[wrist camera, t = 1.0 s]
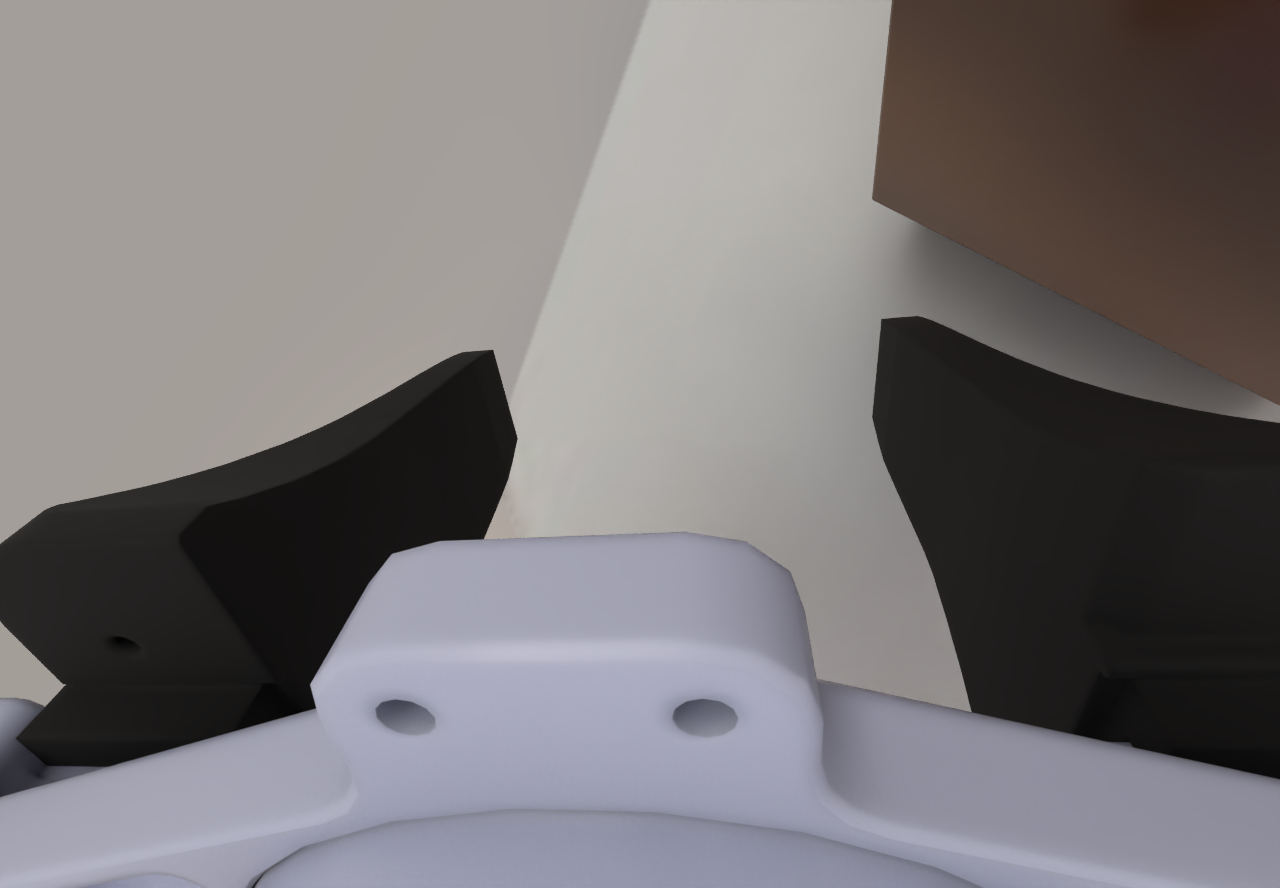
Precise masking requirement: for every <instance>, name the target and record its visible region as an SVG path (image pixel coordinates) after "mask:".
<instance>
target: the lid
mask: <svg viewBox="0 0 1280 888" xmlns="http://www.w3.org/2000/svg"><path fill="white" fill-rule="evenodd" d="M872 199H873V200H874V201H876V202H878V203H880V204H882V205H884V206H886V207H888V208H890V209H892V210H894V211H896V212H898V213H900V214H902V215H904V216H906V217H907V218H909V219H911V220H913V221H915V222H917V223H919V224H921V225H923V226H925V227H927V228H929V229H931V230H933V231H935V232H937V233H939V234H941V235H943V236H945V237H947V238H949V239H951V240H953V241H955V242H957V243H959V244H961V245H963V246H965V247H967V248H969V249H971V250H973V251H975V252H977V253H979V254H981V255H983V256H985V257H987V258H989V259H991V260H993V261H995V262H997V263H999V264H1000V265H1002V266H1004V267H1006V268H1008V269H1010V270H1012V271H1014V272H1016V273H1018V274H1020V275H1022V276H1024V277H1026V278H1028V279H1030V280H1032V281H1034V282H1036V283H1038V284H1040V285H1042V286H1044V287H1046V288H1048V289H1050V290H1052V291H1054V292H1056V293H1058V294H1060V295H1062V296H1064V297H1066V298H1068V299H1070V300H1072V301H1074V302H1076V303H1078V304H1080V305H1082V306H1084V307H1086V308H1088V309H1090V310H1092V311H1093V312H1095V313H1097V314H1099V315H1101V316H1103V317H1105V318H1107V319H1109V320H1111V321H1113V322H1115V323H1117V324H1119V325H1121V326H1123V327H1125V328H1127V329H1129V330H1131V331H1133V332H1135V333H1137V334H1139V335H1141V336H1143V337H1145V338H1147V339H1149V340H1151V341H1153V342H1155V343H1157V344H1159V345H1161V346H1163V347H1165V348H1167V349H1169V350H1171V351H1173V352H1175V353H1177V354H1179V355H1181V356H1183V357H1184V358H1186V359H1188V360H1190V361H1192V362H1194V363H1196V364H1198V365H1200V366H1202V367H1204V368H1206V369H1208V370H1210V371H1212V372H1214V373H1216V374H1218V375H1220V376H1222V377H1224V378H1226V379H1228V380H1230V381H1232V382H1234V383H1236V384H1238V385H1240V386H1242V387H1244V388H1246V389H1248V390H1250V391H1252V392H1254V393H1256V394H1258V395H1260V396H1262V397H1264V398H1266V399H1268V400H1270V401H1272V402H1274V403H1276V404H1277V405H1279V406H1280V0H892V6H891V16H890V26H889V36H888V46H887V56H886V66H885V76H884V85H883V95H882V105H881V115H880V125H879V135H878V145H877V155H876V165H875V175H874V184H873V194H872Z"/></svg>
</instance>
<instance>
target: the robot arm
mask: <svg viewBox="0 0 1280 888" xmlns="http://www.w3.org/2000/svg"><path fill="white" fill-rule="evenodd" d="M872 418H873V422H874V426H875V430H876V434H877V438H878V442H879V446H880V449H881V453H882V456H883V460H884V462H885V465H886V467H887V469H888V472H889V474H890V476H891V478H892V481H893V483H894V485H895V488H896V490H897V492H898V494H899V497H900V499H901V501H902V503H903V505H904V508H905V510H906V512H907V514H908V516H909V519H910V521H911V523H912V525H913V528H914V530H915V532H916V534H917V536H918V539H919V541H920V543H921V545H922V548H923V550H924V552H925V555H926V557H927V560H928V562H929V565H930V568H931V570H932V573H933V576H934V579H935V582H936V586H937V589H938V592H939V595H940V599H941V602H942V605H943V609H944V612H945V615H946V618H947V622H948V625H949V629H950V632H951V636H952V640H953V643H954V647H955V650H956V654H957V657H958V661H959V665H960V668H961V672H962V675H963V679H964V683H965V687H966V691H967V695H968V699H969V703H970V707H971V711H972V712H968V711H963V710H958V709H954V708H949V707H945V706H940V705H935V704H931V703H926V702H922V701H917V700H912V699H908V698H903V697H899V696H894V695H889V694H885V693H880V692H876V691H871V690H866V689H862V688H857V687H853V686H848V685H843V684H839V683H834V682H830V681H825V680H820V679H816V673H815V667H814V662H813V656H812V650H811V644H810V638H809V632H808V626H807V620H806V615H805V610H804V607H803V604H802V602H801V599H800V596H799V594H798V591H797V588H796V586H795V583H794V580H793V578H792V575H791V572H790V571H789V570H787V569H786V568H784V567H783V566H781V565H780V564H778V563H777V562H776V561H774V560H773V559H771V558H770V557H768V556H767V555H765V554H764V553H762V552H761V551H759V550H758V549H756V548H755V547H753V546H752V545H750V544H749V543H747V542H745V541H739V540H733V539H726V538H720V537H714V536H708V535H701V534H695V533H689V532H671V533H645V534H618V535H591V536H564V537H538V538H513V539H484V537H485V535H486V533H487V530H488V527H489V525H490V523H491V520H492V518H493V516H494V513H495V511H496V509H497V506H498V504H499V501H500V498H501V496H502V494H503V491H504V489H505V486H506V483H507V481H508V478H509V474H510V470H511V466H512V462H513V457H514V452H515V448H516V443H517V435H516V431H515V428H514V424H513V420H512V417H511V413H510V410H509V406H508V402H507V399H506V395H505V391H504V388H503V384H502V381H501V377H500V373H499V370H498V366H497V363H496V359H495V355H494V351H493V350H485V351H472V352H462V353H460V354H457V355H454V356H452V357H450V358H448V359H446V360H444V361H442V362H440V363H438V364H436V365H434V366H433V367H431V368H429V369H428V370H426V371H424V372H422V373H420V374H419V375H417V376H415V377H414V378H412V379H410V380H408V381H407V382H405V383H403V384H402V385H400V386H398V387H396V388H395V389H393V390H391V391H390V392H388V393H386V394H385V395H383V396H381V397H379V398H377V399H375V400H373V401H371V402H370V403H368V404H366V405H364V406H362V407H360V408H358V409H357V410H355V411H353V412H351V413H349V414H347V415H346V416H344V417H342V418H340V419H338V420H336V421H334V422H332V423H329V424H327V425H325V426H323V427H321V428H319V429H317V430H314V431H312V432H310V433H307V434H305V435H303V436H300V437H299V438H296V439H293V440H291V441H289V442H286V443H284V444H281V445H279V446H276V447H273V448H270V449H268V450H264V451H262V452H259V453H256V454H253V455H251V456H248V457H245V458H242V459H239V460H236V461H234V462H231V463H228V464H225V465H222V466H218V467H215V468H212V469H208V470H205V471H202V472H198V473H195V474H191V475H188V476H184V477H180V478H176V479H173V480H169V481H166V482H162V483H158V484H153V485H150V486H146V487H141V488H137V489H132V490H127V491H123V492H118V493H113V494H109V495H104V496H99V497H95V498H90V499H85V500H80V501H76V502H70V503H65V504H59V505H56V506H53V507H51V508H48V509H46V510H44V511H43V512H42V513H40V514H39V515H38V516H36V517H35V518H34V519H32V520H31V521H30V522H28V523H27V524H26V525H25V526H23V527H22V528H21V529H19V530H18V531H17V532H15V533H14V534H13V535H12V536H10V537H9V538H8V539H6V540H5V541H4V542H2V543H1V544H0V621H1V623H2V624H3V625H4V626H5V627H6V628H7V629H8V630H9V631H10V632H11V633H12V634H13V635H14V636H15V637H16V638H17V639H18V640H19V641H20V642H21V643H22V644H23V645H24V646H25V647H26V648H27V649H28V650H29V651H30V652H31V653H32V654H33V655H34V656H35V657H36V658H37V659H38V660H39V661H40V662H41V663H42V664H43V665H44V666H45V667H46V668H47V669H48V670H49V671H50V672H51V673H53V674H54V675H55V676H56V678H57V679H58V680H60V682H61V683H63V684H66V685H65V686H64V687H63V688H62V690H61V691H60V692H59V693H58V694H57V695H56V696H55V697H54V698H53V699H52V700H51V701H50V703H48V705H47V706H46V707H44V706H43V705H40V704H38V703H35V702H33V701H30V700H26V699H19V698H0V888H1280V423H1275V422H1268V421H1261V420H1254V419H1247V418H1240V417H1233V416H1227V415H1221V414H1215V413H1209V412H1204V411H1198V410H1192V409H1187V408H1183V407H1178V406H1173V405H1169V404H1164V403H1160V402H1155V401H1150V400H1146V399H1141V398H1137V397H1133V396H1129V395H1125V394H1121V393H1117V392H1114V391H1110V390H1107V389H1103V388H1100V387H1097V386H1093V385H1090V384H1087V383H1083V382H1080V381H1076V380H1073V379H1070V378H1067V377H1064V376H1061V375H1058V374H1056V373H1053V372H1050V371H1048V370H1045V369H1042V368H1040V367H1037V366H1035V365H1032V364H1029V363H1027V362H1024V361H1022V360H1019V359H1017V358H1014V357H1012V356H1010V355H1007V354H1005V353H1003V352H1000V351H998V350H996V349H994V348H991V347H989V346H987V345H985V344H983V343H980V342H978V341H976V340H974V339H972V338H970V337H967V336H965V335H963V334H961V333H959V332H957V331H955V330H952V329H950V328H948V327H946V326H944V325H941V324H939V323H937V322H934V321H932V320H929V319H926V318H923V317H919V316H914V317H901V318H888V319H882V320H881V331H880V341H879V352H878V363H877V373H876V384H875V394H874V405H873V416H872Z"/></svg>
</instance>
